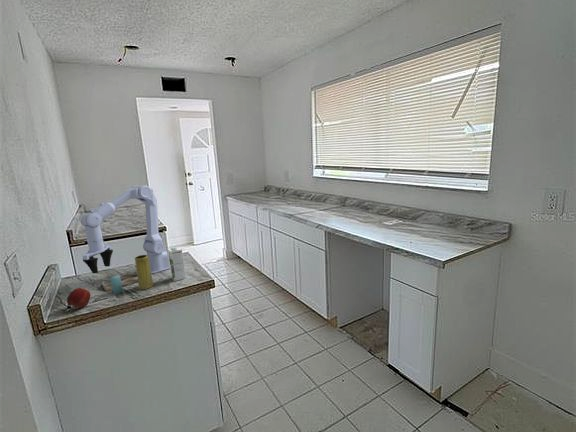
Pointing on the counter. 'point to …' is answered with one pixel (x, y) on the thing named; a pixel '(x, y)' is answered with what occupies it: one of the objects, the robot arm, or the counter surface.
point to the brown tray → (122, 281)
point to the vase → (143, 272)
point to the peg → (116, 284)
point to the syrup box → (176, 263)
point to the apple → (79, 298)
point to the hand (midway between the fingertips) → (101, 269)
